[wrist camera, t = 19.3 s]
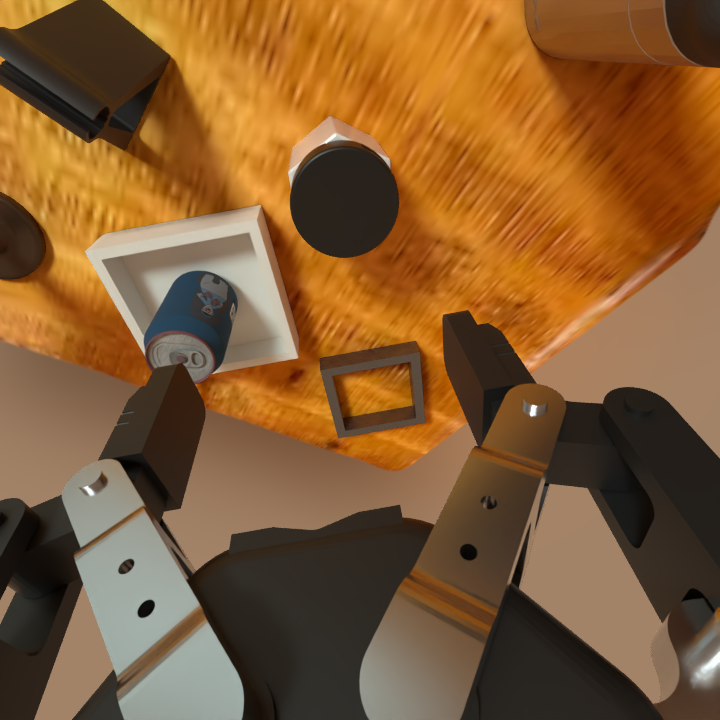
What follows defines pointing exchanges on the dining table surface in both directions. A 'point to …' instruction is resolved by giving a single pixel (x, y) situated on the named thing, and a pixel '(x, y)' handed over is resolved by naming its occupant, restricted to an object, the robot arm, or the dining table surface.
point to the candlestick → (18, 240)
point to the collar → (370, 361)
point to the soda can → (192, 325)
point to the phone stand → (84, 70)
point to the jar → (342, 190)
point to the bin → (203, 253)
